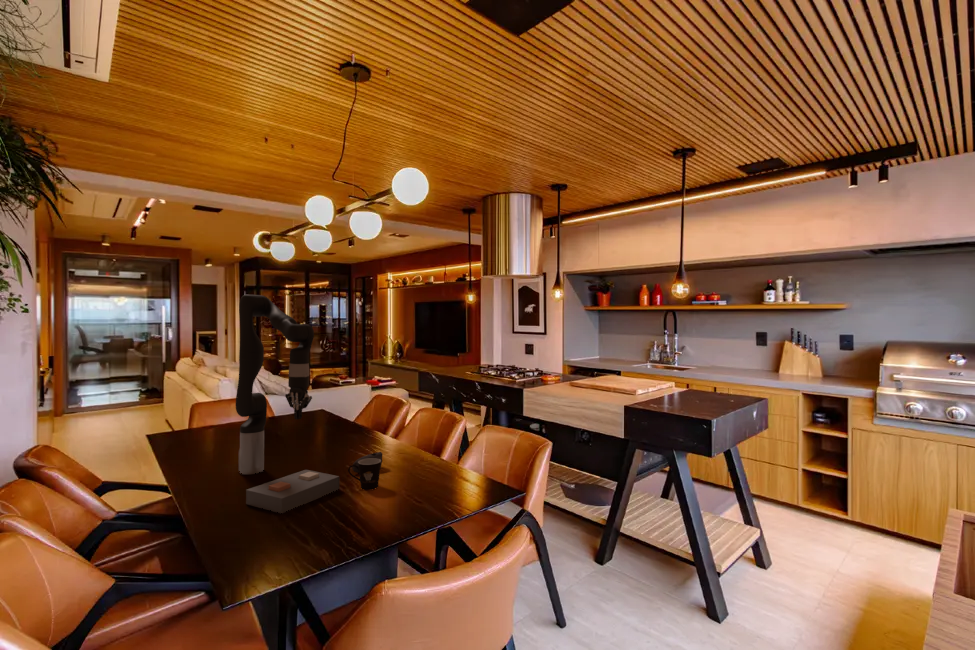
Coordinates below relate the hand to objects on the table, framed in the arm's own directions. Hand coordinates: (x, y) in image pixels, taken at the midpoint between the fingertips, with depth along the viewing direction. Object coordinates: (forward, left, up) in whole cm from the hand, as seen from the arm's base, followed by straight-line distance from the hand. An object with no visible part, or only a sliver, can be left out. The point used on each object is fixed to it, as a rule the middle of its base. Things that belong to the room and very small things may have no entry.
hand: (298, 418), depth 185 cm
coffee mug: (+26, +10, -26) cm, 38 cm away
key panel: (+10, -10, -26) cm, 29 cm away
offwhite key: (+10, -3, -24) cm, 26 cm away
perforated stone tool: (+13, +26, -26) cm, 39 cm away
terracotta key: (+10, -16, -24) cm, 30 cm away
